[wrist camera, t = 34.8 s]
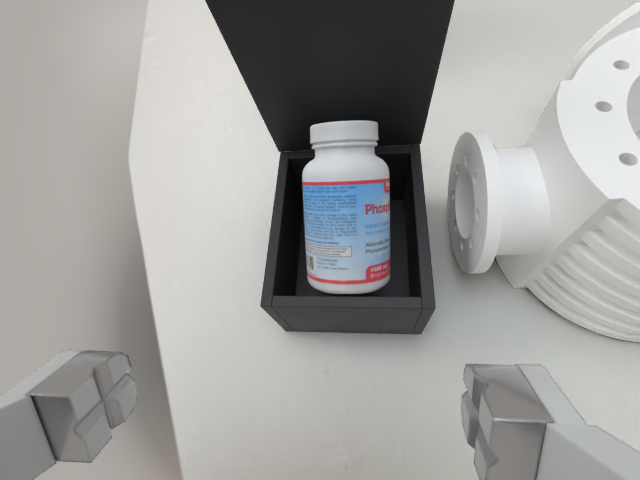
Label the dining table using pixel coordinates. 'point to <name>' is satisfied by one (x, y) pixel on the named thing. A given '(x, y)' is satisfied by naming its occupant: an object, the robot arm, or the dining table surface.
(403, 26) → the chamber lid
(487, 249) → the housing
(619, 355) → the dining table surface
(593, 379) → the dining table surface
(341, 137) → the pill bottle
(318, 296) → the box
